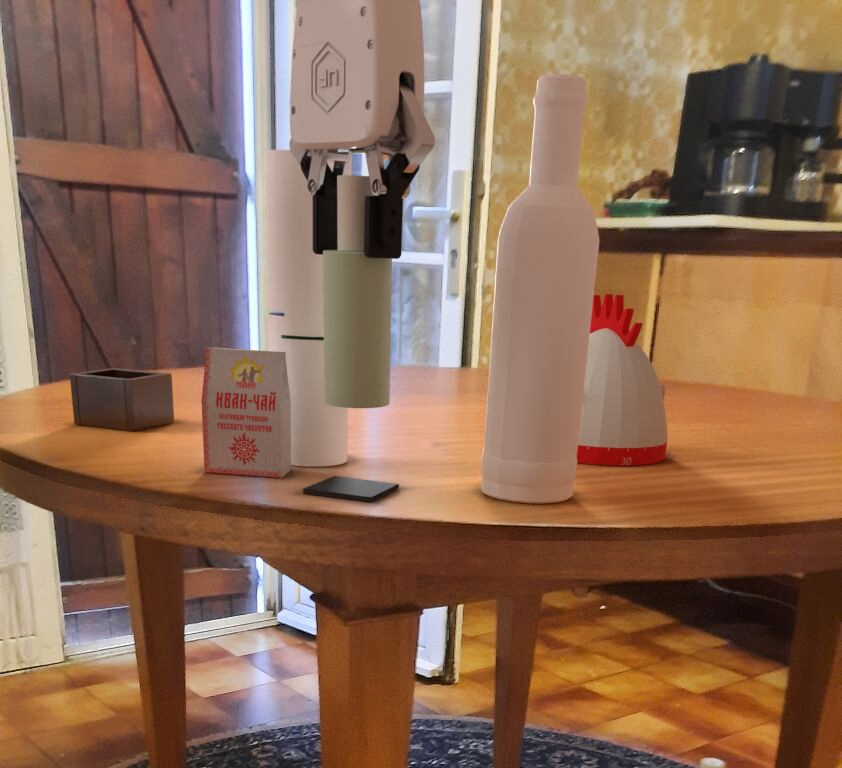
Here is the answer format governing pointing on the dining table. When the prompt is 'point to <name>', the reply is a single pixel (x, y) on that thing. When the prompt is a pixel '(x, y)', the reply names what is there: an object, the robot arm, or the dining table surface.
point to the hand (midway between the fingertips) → (356, 253)
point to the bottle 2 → (542, 312)
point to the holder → (122, 399)
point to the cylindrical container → (300, 313)
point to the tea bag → (246, 413)
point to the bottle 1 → (355, 308)
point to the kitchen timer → (620, 393)
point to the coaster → (351, 488)
